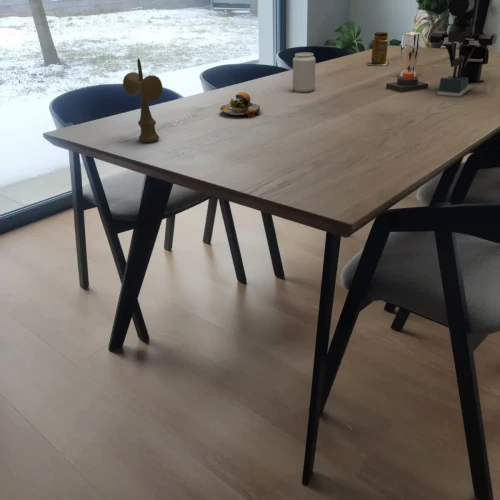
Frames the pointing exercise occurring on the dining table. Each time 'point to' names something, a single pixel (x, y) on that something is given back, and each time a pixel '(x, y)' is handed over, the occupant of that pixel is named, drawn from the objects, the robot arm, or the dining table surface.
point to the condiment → (379, 49)
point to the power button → (408, 75)
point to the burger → (241, 106)
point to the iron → (454, 81)
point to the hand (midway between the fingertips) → (457, 67)
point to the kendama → (144, 100)
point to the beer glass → (410, 51)
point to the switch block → (406, 85)
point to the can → (304, 72)
